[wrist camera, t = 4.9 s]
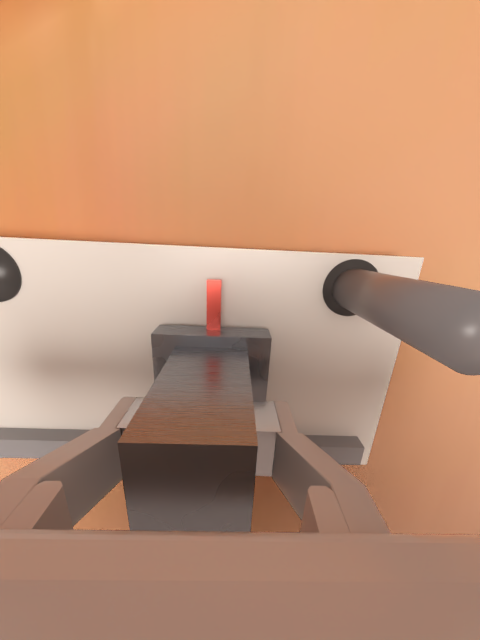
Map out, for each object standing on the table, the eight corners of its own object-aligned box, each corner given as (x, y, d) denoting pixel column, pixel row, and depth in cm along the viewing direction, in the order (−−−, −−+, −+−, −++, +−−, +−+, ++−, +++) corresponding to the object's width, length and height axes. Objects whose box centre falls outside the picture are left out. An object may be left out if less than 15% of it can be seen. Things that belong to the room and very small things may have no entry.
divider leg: (272, 281, 10) (322, 330, 4) (260, 417, 12) (282, 574, 6) (157, 276, 10) (41, 319, 4) (165, 414, 12) (98, 573, 6)
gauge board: (394, 255, 12) (664, 271, 4) (350, 438, 16) (458, 617, 8) (-124, 230, 11) (-862, 198, 4) (-45, 428, 15) (-335, 618, 7)
